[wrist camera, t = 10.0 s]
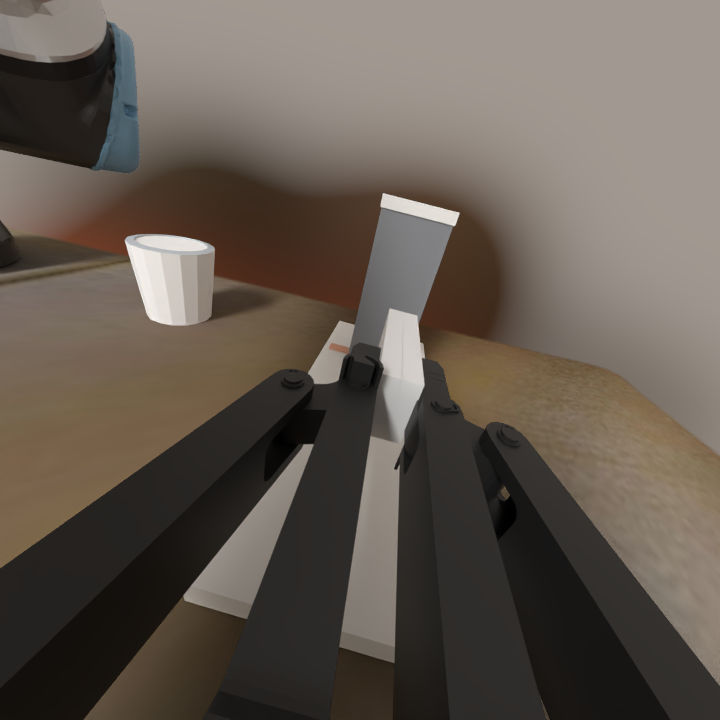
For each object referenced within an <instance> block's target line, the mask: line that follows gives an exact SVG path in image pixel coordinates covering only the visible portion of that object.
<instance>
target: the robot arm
mask: <svg viewBox="0 0 720 720" xmlns="http://www.w3.org/2000/svg"><path fill="white" fill-rule="evenodd" d="M137 111H138V108H137V86H136V72H135V57H134V46H133V42H132V40H131V38H130V36H129V35H128V34H127V33H126V32H124V31H123V30H121V29H119V28H118V27H117V26H116V25H115V24H114V23H111V22H108V21H106V17H105V12H104V10H103V7H102V4H101V1H100V0H0V150H4V151H9V152H14V153H18V154H23V155H28V156H33V157H37V158H42V159H47V160H52V161H56V162H61V163H66V164H70V165H75V166H80V167H85V168H89V169H91V170H95V171H98V170H107V171H114V172H121V173H132V172H134V171H135V170H137V168H138V167H139V164H140V143H139V125H138V113H137ZM19 257H20V253H19V251H18V248H17V246H16V243H15V240H14V238H13V236H12V234H11V233H10V231H9V230H8V229H7V228H6V227H5V225H4V224H3V223H2V222H1V221H0V267H3V266H6V265H9V264H11V263H13V262H15V261H16V260H18V259H19ZM370 436H372V437H376V438H379V439H383V440H387V441H391V442H394V443H398V444H400V443H401V441H402V438H403V436H404V445H403V448H402V450H401V452H400V455H399V457H398V459H397V462H396V464H395V467H394V470H397V469H398V466H399V465H400V470H399V508H398V545H397V583H396V621H395V659H394V697H393V720H546V718H545V714H544V711H543V707H542V703H541V700H540V696H541V699H542V701H543V704H544V706H545V708H546V711H547V713H548V716H549V718H550V720H720V686H719V685H718V683H717V682H716V681H715V679H714V678H713V677H712V676H711V674H710V673H709V672H708V671H707V669H706V668H705V667H704V665H703V664H702V663H701V662H700V660H699V659H698V658H697V656H696V655H695V654H694V653H693V651H692V650H691V649H690V647H689V646H688V645H687V644H686V642H685V641H684V640H683V638H682V637H681V636H680V635H679V633H678V632H677V631H676V630H675V628H674V627H673V626H672V624H671V623H670V622H669V621H668V619H667V618H666V617H665V615H664V614H663V613H662V612H661V610H660V609H659V608H658V606H657V605H656V604H655V603H654V601H653V600H652V599H651V597H650V596H649V595H648V594H647V592H646V591H645V590H644V589H643V587H642V586H641V585H640V583H639V582H638V581H637V580H636V578H635V577H634V576H633V574H632V573H631V572H630V571H629V569H628V568H627V567H626V565H625V564H624V563H623V562H622V560H621V559H620V558H619V556H618V555H617V554H616V553H615V551H614V550H613V549H612V548H611V546H610V545H609V544H608V542H607V541H606V540H605V539H604V537H603V536H602V535H601V533H600V532H599V531H598V530H597V528H596V527H595V526H594V524H593V523H592V522H591V521H590V519H589V518H588V517H587V515H586V514H585V513H584V512H583V510H582V509H581V508H580V507H579V505H578V504H577V503H576V501H575V500H574V499H573V498H572V496H571V495H570V494H569V492H568V491H567V490H566V489H565V487H564V486H563V485H562V483H561V482H560V481H559V480H558V478H557V477H556V476H555V474H554V473H553V472H552V471H551V469H550V468H549V467H548V465H547V464H546V463H545V462H544V460H543V459H542V458H541V457H540V455H539V454H538V453H537V451H536V450H535V449H534V448H533V446H532V445H531V444H530V442H529V441H528V440H527V439H526V438H525V437H524V436H523V435H522V434H521V433H520V432H519V431H517V430H516V429H515V428H513V427H511V426H509V425H506V424H503V423H499V422H491V423H490V424H488V425H487V427H486V428H485V430H484V429H482V428H480V427H478V426H476V425H474V424H472V423H470V422H468V421H467V420H465V419H464V417H463V413H462V411H461V409H460V407H459V406H458V405H457V404H456V403H455V402H454V401H453V400H451V399H450V396H449V392H448V388H447V383H446V379H445V375H444V370H443V368H442V367H441V366H440V365H439V363H438V362H436V361H432V360H428V359H424V358H422V356H421V347H420V337H419V328H418V319H417V315H413V314H409V313H406V312H402V311H398V310H394V309H390V308H389V312H388V315H387V319H386V322H385V326H384V329H383V333H382V336H381V340H380V343H379V347H376V346H372V345H368V344H365V343H361V342H359V343H358V344H356V345H354V346H353V348H352V351H351V353H350V354H347V355H346V356H345V357H344V358H343V362H342V366H341V371H340V376H339V380H338V381H336V382H333V383H329V384H314V379H313V378H312V377H311V376H310V375H309V374H307V373H306V372H304V371H301V370H297V369H285V370H280V371H278V372H276V373H274V374H273V375H271V376H270V377H269V378H267V379H266V380H264V381H263V382H262V383H260V384H259V385H257V386H256V387H255V388H253V389H252V390H250V391H249V392H247V393H246V394H245V395H243V396H242V397H240V398H239V399H238V400H236V401H235V402H233V403H232V404H231V405H229V406H228V407H226V408H225V409H224V410H222V411H221V412H219V413H218V414H217V415H215V416H214V417H212V418H211V419H210V420H208V421H207V422H205V423H204V424H203V425H201V426H200V427H198V428H197V429H196V430H194V431H193V432H191V433H190V434H189V435H187V436H186V437H184V438H183V439H181V440H180V441H179V442H177V443H176V444H174V445H173V446H172V447H170V448H169V449H167V450H166V451H165V452H163V453H162V454H160V455H159V456H158V457H156V458H155V459H153V460H152V461H151V462H149V463H148V464H146V465H145V466H144V467H142V468H141V469H139V470H138V471H137V472H135V473H134V474H132V475H131V476H130V477H128V478H127V479H125V480H124V481H123V482H121V483H120V484H118V485H117V486H116V487H114V488H113V489H111V490H110V491H108V492H107V493H106V494H104V495H103V496H101V497H100V498H99V499H97V500H96V501H94V502H93V503H92V504H90V505H89V506H87V507H86V508H85V509H83V510H82V511H80V512H79V513H78V514H76V515H75V516H73V517H72V518H71V519H69V520H68V521H66V522H65V523H64V524H62V525H61V526H59V527H58V528H57V529H55V530H54V531H52V532H51V533H50V534H48V535H47V536H45V537H44V538H42V539H41V540H40V541H38V542H37V543H35V544H34V545H33V546H31V547H30V548H28V549H27V550H26V551H24V552H23V553H21V554H20V555H19V556H17V557H16V558H14V559H13V560H12V561H10V562H9V563H7V564H6V565H5V566H3V567H2V568H0V720H83V719H84V718H85V717H86V716H87V714H88V713H89V712H90V711H91V709H92V708H93V707H94V706H95V705H96V703H97V702H98V701H99V700H100V698H101V697H102V696H103V695H104V693H105V692H106V691H107V690H108V688H109V687H110V686H111V685H112V683H113V682H114V681H115V680H116V678H117V677H118V676H119V675H120V674H121V672H122V671H123V670H124V669H125V667H126V666H127V665H128V664H129V662H130V661H131V660H132V659H133V657H134V656H135V655H136V654H137V652H138V651H139V650H140V649H141V647H142V646H143V645H144V644H145V642H146V641H147V640H148V639H149V638H150V636H151V635H152V634H153V633H154V631H155V630H156V629H157V628H158V626H159V625H160V624H161V623H162V621H163V620H164V619H165V618H166V616H167V615H168V614H169V613H170V611H171V610H172V609H173V608H174V607H175V605H176V604H177V603H178V602H179V600H180V599H181V598H182V597H183V595H184V594H185V593H186V592H187V590H188V589H189V588H190V587H191V585H192V584H193V583H194V582H195V580H196V579H197V578H198V577H199V575H200V574H201V573H202V572H203V571H204V569H205V568H206V567H207V566H208V564H209V563H210V562H211V561H212V559H213V558H214V557H215V556H216V554H217V553H218V552H219V551H220V549H221V548H222V547H223V546H224V544H225V543H226V542H227V541H228V540H229V538H230V537H231V536H232V535H233V533H234V532H235V531H236V530H237V528H238V527H239V526H240V525H241V523H242V522H243V521H244V520H245V518H246V517H247V516H248V515H249V513H250V512H251V511H252V510H253V508H254V507H255V506H256V505H257V504H258V502H259V501H260V500H261V499H262V497H263V496H264V495H265V494H266V492H267V491H268V490H269V489H270V487H271V486H272V485H273V484H274V482H275V481H276V480H277V479H278V477H279V476H280V475H281V474H282V473H283V471H284V470H285V469H286V468H287V466H288V465H289V464H290V463H291V461H292V460H293V459H294V458H295V456H296V455H297V454H298V453H299V451H300V450H301V449H302V447H303V445H304V444H314V445H313V448H312V450H311V453H310V456H309V458H308V461H307V463H306V466H305V469H304V471H303V474H302V476H301V479H300V482H299V484H298V487H297V490H296V492H295V495H294V497H293V500H292V503H291V505H290V508H289V510H288V513H287V516H286V518H285V521H284V524H283V526H282V529H281V531H280V534H279V537H278V539H277V542H276V544H275V547H274V550H273V552H272V555H271V558H270V560H269V563H268V565H267V568H266V571H265V573H264V576H263V578H262V581H261V584H260V586H259V589H258V592H257V594H256V597H255V599H254V602H253V605H252V607H251V610H250V612H249V615H248V618H247V620H246V623H245V626H244V628H243V631H242V633H241V636H240V639H239V641H238V644H237V646H236V649H235V652H234V654H233V657H232V660H231V662H230V665H229V667H228V670H227V672H226V675H225V677H224V679H223V682H222V684H221V686H220V688H219V691H218V692H217V694H216V696H215V698H214V700H213V701H212V703H211V705H210V707H209V708H208V710H207V712H206V714H205V716H204V719H203V720H329V719H330V707H331V700H332V692H333V685H334V679H335V672H336V665H337V659H338V652H339V645H340V638H341V632H342V625H343V618H344V611H345V605H346V598H347V591H348V584H349V578H350V571H351V564H352V558H353V551H354V544H355V537H356V531H357V524H358V517H359V510H360V504H361V497H362V490H363V484H364V477H365V470H366V463H367V457H368V450H369V443H370ZM504 486H505V487H506V489H507V491H508V492H509V494H510V496H509V498H508V499H507V500H506V499H505V498H504V497H503V496H502V494H501V492H500V491H501V490H502V488H503V487H504ZM538 691H539V692H538ZM539 694H540V696H539Z"/></svg>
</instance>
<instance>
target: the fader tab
mask: <svg viewBox="0 0 720 720" xmlns="http://www.w3.org/2000/svg"><path fill="white" fill-rule="evenodd" d="M380 207H382V209H381V213H380V218H379V222H378V226H377V231H376V235H375V239H374V244H373V249H372V252H371V257H370V261H369V266H368V270H367V274H366V278H365V283H364V287H363V292H362V296H361V300H360V305H359V309H358V313H357V318H356V322H355V327H354V331H353V335H352V340H351V344H350V348H349V353H348V354H350V353H351V351H352V348H353V346H354V345H356V344H358V343H359V342H361V343H365V344H368V345H372V346H376V347H379V343H380V340H381V336H382V333H383V329H384V326H385V322H386V319H387V315H388V312H389V308H390V309H394V310H398V311H402V312H406V313H409V314H413V315H417V319H418V324H419V321H420V318H421V315H422V312H423V310H424V307H425V304H426V301H427V298H428V295H429V293H430V290H431V287H432V284H433V281H434V279H435V276H436V273H437V270H438V267H439V265H440V262H441V259H442V256H443V253H444V250H445V248H446V245H447V242H448V239H449V236H450V233H451V230H452V228H453V226H455V224H456V222H457V219H458V216H459V213H457V212H454V211H450V210H446V209H442V208H438V207H434V206H430V205H426V204H422V203H419V202H415V201H411V200H407V199H403V198H399V197H395V196H391V195H387V194H383V197H382V201H381V206H380Z"/></svg>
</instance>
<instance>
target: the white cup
mask: <svg viewBox="0 0 720 720" xmlns="http://www.w3.org/2000/svg"><path fill="white" fill-rule="evenodd" d="M125 243H126V246H127V250H128V253H129V256H130V260H131V263H132V266H133V270H134V273H135V276H136V279H137V283H138V286H139V289H140V293H141V296H142V299H143V303H144V306H145V309H146V313H147V315H148V316H149V318H150V319H151V320H154V321H156V322H159V323H162V324H168V325H192V324H198V323H201V322H204V321H206V320H208V319H209V318H210V317H211V312H212V294H213V276H214V258H215V248H214V247H213V246H211V245H210V244H208V243H205V242H202V241H199V240H194V239H190V238H186V237H179V236H172V235H160V234H138V235H133V236H128V237H127V238H126V239H125Z"/></svg>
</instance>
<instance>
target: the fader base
mask: <svg viewBox="0 0 720 720" xmlns="http://www.w3.org/2000/svg"><path fill="white" fill-rule="evenodd" d="M354 327H355V325H353V324H350V323H346V322H342V321H339V323H338V324H337V326H336V328H335V329H334V331H333V333H332V334H331V336H330V338H329V339H328V341H327V342H326V344H325V346H324V347H323V349H322V351H321V352H320V354H319V356H318V357H317V359H316V361H315V362H314V364H313V366H312V367H311V369H310V370H309V372H308V374H309V375H310V376H311V377H312V378H313V379H314V384H329V383H333V382H336V381H338V380H339V376H340V371H341V366H342V362H343V358H344V357H345V356H346V355H347V354H348V353H349V348H350V344H351V340H352V335H353V331H354ZM420 347H421V356H422V358H424V359H425V355H424V345H423V343H420ZM313 445H314V444H304V445H303V447H302V449H301V450H300V451H299V453H298V454H297V455H296V456H295V458H294V459H293V460H292V461H291V463H290V464H289V465H288V466H287V468H286V469H285V470H284V471H283V473H282V474H281V475H280V476H279V477H278V479H277V480H276V481H275V482H274V484H273V485H272V486H271V487H270V489H269V490H268V491H267V492H266V494H265V495H264V496H263V497H262V499H261V500H260V501H259V502H258V504H257V505H256V506H255V507H254V508H253V510H252V511H251V512H250V513H249V515H248V516H247V517H246V518H245V520H244V521H243V522H242V523H241V525H240V526H239V527H238V528H237V530H236V531H235V532H234V533H233V535H232V536H231V537H230V538H229V540H228V541H227V542H226V543H225V544H224V546H223V547H222V548H221V549H220V551H219V552H218V553H217V554H216V556H215V557H214V558H213V559H212V561H211V562H210V563H209V564H208V566H207V567H206V568H205V569H204V571H203V572H202V573H201V574H200V575H199V577H198V578H197V579H196V580H195V582H194V583H193V584H192V585H191V587H190V588H189V589H188V590H187V592H186V593H185V594H184V595H183V596H184V601H187V602H191V603H194V604H197V605H201V606H204V607H207V608H211V609H214V610H217V611H221V612H224V613H227V614H231V615H234V616H237V617H241V618H244V619H247V618H248V615H249V612H250V610H251V607H252V605H253V602H254V599H255V597H256V594H257V592H258V589H259V586H260V584H261V581H262V578H263V576H264V573H265V571H266V568H267V565H268V563H269V560H270V558H271V555H272V552H273V550H274V547H275V544H276V542H277V539H278V537H279V534H280V531H281V529H282V526H283V524H284V521H285V518H286V516H287V513H288V510H289V508H290V505H291V503H292V500H293V497H294V495H295V492H296V490H297V487H298V484H299V482H300V479H301V476H302V474H303V471H304V469H305V466H306V463H307V461H308V458H309V456H310V453H311V450H312V448H313ZM403 445H404V436H403V438H402V441H401V443H400V444H398V443H394V442H391V441H387V440H383V439H379V438H376V437H372V436H370V443H369V450H368V457H367V463H366V470H365V477H364V484H363V490H362V497H361V504H360V510H359V517H358V524H357V531H356V537H355V544H354V551H353V558H352V564H351V571H350V578H349V584H348V591H347V598H346V605H345V611H344V618H343V625H342V632H341V638H340V645H339V647H341V648H344V649H348V650H351V651H354V652H358V653H361V654H365V655H368V656H371V657H375V658H378V659H381V660H385V661H388V662H391V663H394V659H395V621H396V583H397V545H398V508H399V470H400V465H399V466H398V469H397V470H394V467H395V464H396V462H397V459H398V457H399V455H400V452H401V450H402V448H403Z"/></svg>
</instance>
